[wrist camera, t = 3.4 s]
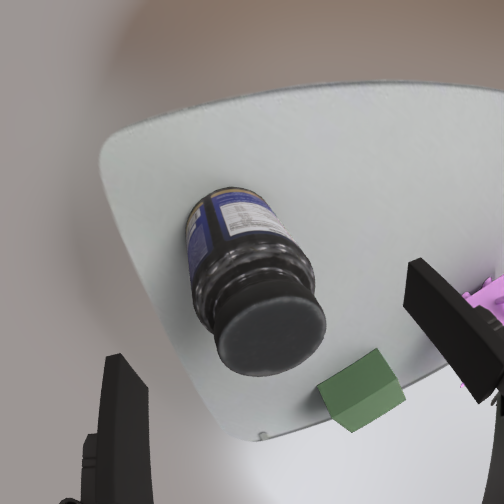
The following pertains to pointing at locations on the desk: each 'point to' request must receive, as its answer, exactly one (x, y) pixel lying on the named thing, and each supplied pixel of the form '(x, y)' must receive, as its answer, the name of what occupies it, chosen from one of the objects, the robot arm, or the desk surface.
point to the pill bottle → (251, 284)
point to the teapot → (489, 298)
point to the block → (362, 392)
